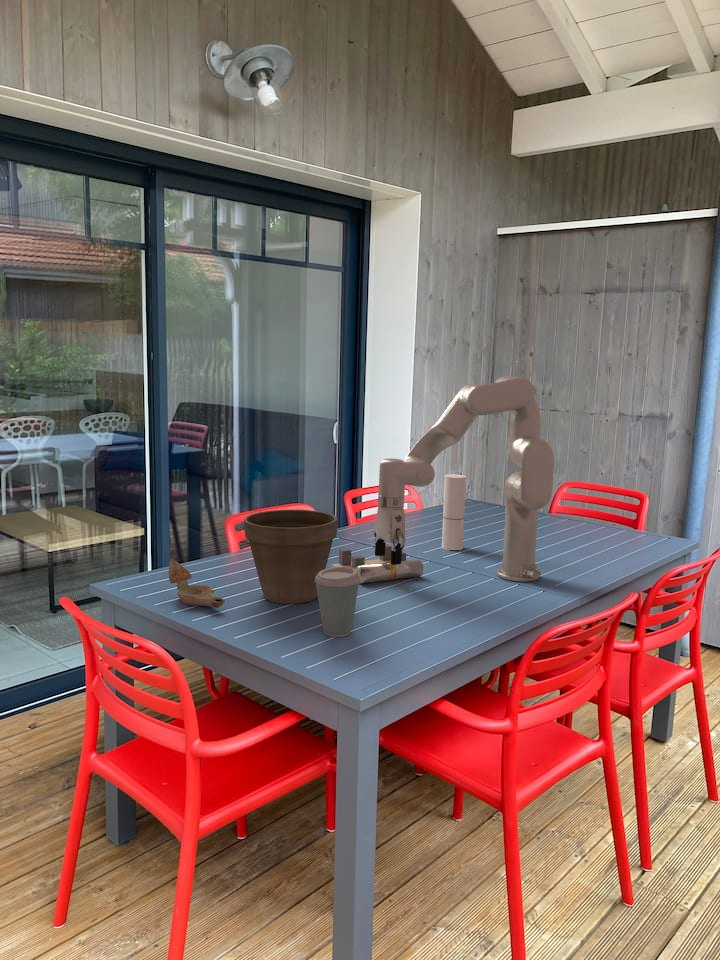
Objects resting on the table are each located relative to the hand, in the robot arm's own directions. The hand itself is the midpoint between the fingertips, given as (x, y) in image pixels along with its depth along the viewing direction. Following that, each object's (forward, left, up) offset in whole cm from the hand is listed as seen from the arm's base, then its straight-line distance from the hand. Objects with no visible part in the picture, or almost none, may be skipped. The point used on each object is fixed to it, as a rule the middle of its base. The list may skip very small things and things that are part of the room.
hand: (387, 559), depth 223 cm
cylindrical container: (+25, -39, -6) cm, 46 cm away
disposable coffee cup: (-33, +31, -6) cm, 46 cm away
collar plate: (+11, -1, -6) cm, 12 cm away
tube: (0, -1, -6) cm, 6 cm away
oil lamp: (0, +56, -6) cm, 56 cm away
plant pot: (-3, +31, -6) cm, 32 cm away
